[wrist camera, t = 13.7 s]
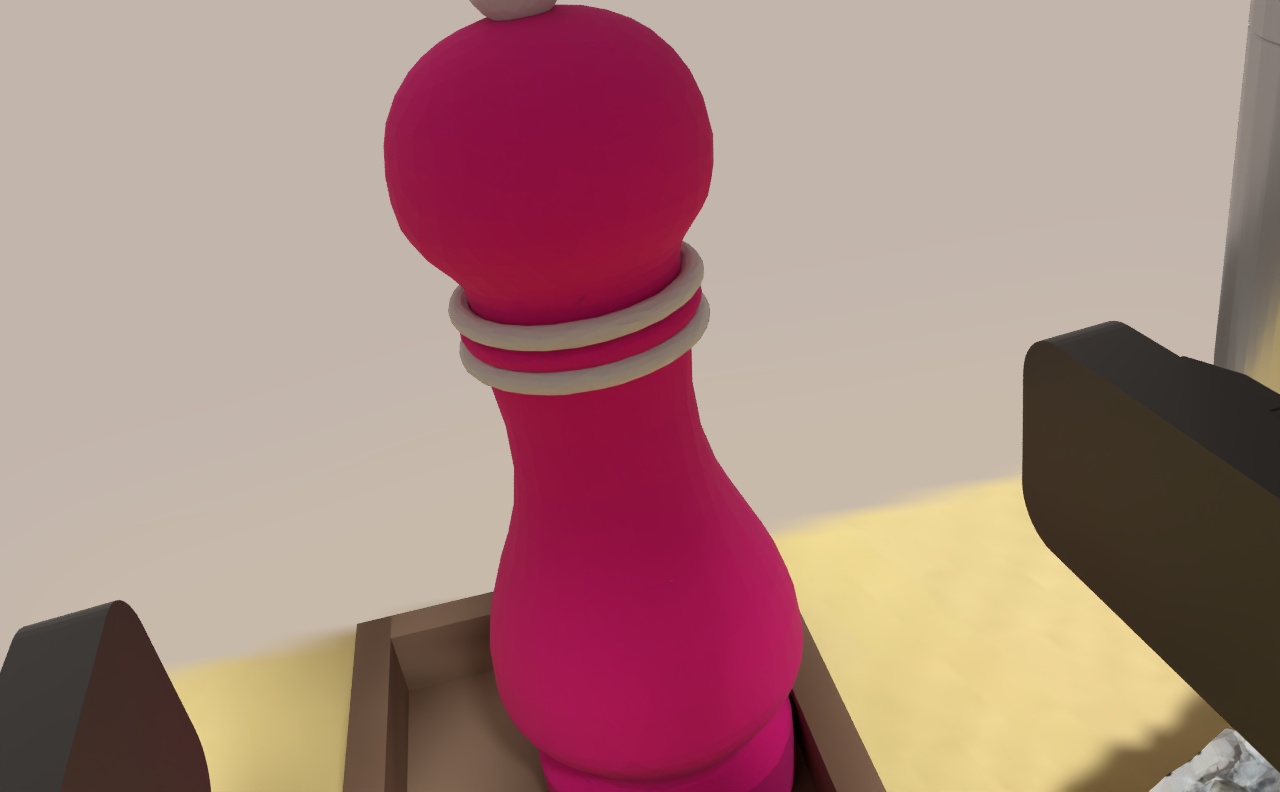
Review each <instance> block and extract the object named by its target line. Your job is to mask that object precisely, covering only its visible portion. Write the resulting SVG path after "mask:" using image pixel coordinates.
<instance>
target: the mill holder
mask: <svg viewBox="0 0 1280 792" xmlns="http://www.w3.org/2000/svg"><path fill="white" fill-rule="evenodd" d="M493 593H494V592H490V593H486V594H482V595H478V596H473V597H469V598H465V599H461V600H456V601H452V602H448V603H444V604H440V605H435V606H431V607H427V608H423V609H419V610H414V611H410V612H406V613H402V614H397V615H393V616H389V617H385V618H381V619H376V620H372V621H368V622H364V623H359V624H357V632H356V643H355V655H354V667H353V678H352V690H351V702H350V714H349V725H348V737H347V749H346V760H345V772H344V784H343V792H549V789H548V786H547V782H546V779H545V775H544V772H543V768H542V765H541V761H540V755H539V749H538V748H536V747H535V746H534V745H533V744H532V743H531V742H530V741H529V740H528V739H527V738H526V737H525V736H524V735H523V734H522V733H521V732H520V731H519V730H518V728H517V727H516V725H515V724H514V723H513V721H512V720H511V718H510V717H509V715H508V713H507V711H506V709H505V707H504V705H503V703H502V701H501V698H500V695H499V691H498V688H497V684H496V679H495V673H494V667H493V661H492V655H491V649H490V617H491V603H492V598H493ZM800 616H801V620H802V625H803V650H802V660H801V664H800V667H799V670H798V673H797V676H796V680H795V683H794V685H793V687H792V689H791V691H790V693H789V695H788V696H789V700H790V704H791V709H792V717H793V725H794V734H795V742H796V750H797V771H796V775H795V779H794V784H793V788H792V790H791V792H886V790H885V788H884V786H883V784H882V782H881V780H880V778H879V776H878V773H877V771H876V769H875V767H874V765H873V763H872V761H871V759H870V757H869V755H868V753H867V751H866V749H865V746H864V744H863V742H862V740H861V738H860V736H859V734H858V732H857V730H856V728H855V726H854V724H853V721H852V719H851V717H850V715H849V713H848V711H847V709H846V707H845V705H844V703H843V701H842V699H841V696H840V694H839V692H838V690H837V688H836V686H835V684H834V682H833V680H832V678H831V676H830V674H829V671H828V669H827V667H826V665H825V663H824V661H823V659H822V657H821V655H820V653H819V651H818V649H817V646H816V644H815V642H814V640H813V638H812V636H811V634H810V632H809V630H808V628H807V626H806V624H805V621H804V619H803V617H802V615H801V613H800Z"/></svg>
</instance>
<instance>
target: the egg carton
mask: <svg viewBox="0 0 1280 792" xmlns="http://www.w3.org/2000/svg"><path fill="white" fill-rule="evenodd" d="M1149 792H1280V773H1279V772H1278V771H1277V770H1276V769H1275V768H1274V767H1273V766H1272V765H1271V764H1270V763H1269V762H1268V761H1267V760H1266V759H1265V758H1264V757H1263V756H1262V755H1261V754H1260V753H1258V752H1257V751H1256V750H1255V749H1254V748H1253V747H1252V746H1251V745H1250V744H1249V743H1248V742H1247V741H1246V740H1245V739H1244V738H1243V737H1242V736H1241V735H1240V734H1239V733H1238V732H1237V731H1235V730H1232V729H1227V728H1225V729H1224V730H1223V731H1222V732H1221V733H1220V734H1218V735H1217V736H1216V737H1215V738H1214V739H1213V740H1212V741H1211V742H1210V743H1209V744H1208V745H1207V746H1206V747H1205V748H1204V749H1203V750H1202V751H1201V752H1199V753H1198V754H1197V755H1196V756H1195V757H1194V758H1192V759H1191V760H1190V761H1189V762H1187V763H1185V764H1184V765H1182V766H1181V767H1179V768H1177V769H1176V770H1174V771H1173V772H1171V773H1169V774H1168V775H1166V776H1165V777H1164V778H1163V779H1162V780H1161V781H1160V782H1159V783H1158V784H1157V785H1155V786H1154V787H1153V788H1152V789H1151V790H1150V791H1149Z"/></svg>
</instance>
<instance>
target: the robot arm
mask: <svg viewBox="0 0 1280 792" xmlns="http://www.w3.org/2000/svg"><path fill="white" fill-rule="evenodd" d="M1249 24H1250V25H1249V26H1248V35H1247V45H1246V54H1245V64H1244V73H1243V83H1242V93H1241V102H1240V112H1239V122H1238V131H1237V142H1236V150H1235V160H1234V170H1233V180H1232V190H1231V199H1230V209H1229V219H1228V228H1227V238H1226V247H1225V256H1224V266H1223V276H1222V285H1221V295H1220V305H1219V314H1218V324H1217V334H1216V343H1215V353H1214V365H1212V364H1208V363H1205V362H1202V361H1198V360H1195V359H1192V358H1188V357H1185V356H1182V357H1179V356H1178V355H1176V354H1174V353H1173V352H1171V351H1170V350H1168V349H1166V348H1164V347H1163V346H1161V345H1159V344H1158V343H1156V342H1154V341H1153V340H1151V339H1150V338H1148V337H1146V336H1144V335H1143V334H1141V333H1140V332H1138V331H1136V330H1135V329H1133V328H1131V327H1130V326H1128V325H1126V324H1124V323H1122V322H1118V321H1109V322H1105V323H1102V324H1098V325H1095V326H1091V327H1088V328H1084V329H1081V330H1077V331H1073V332H1070V333H1067V334H1063V335H1059V336H1056V337H1052V338H1049V339H1045V340H1042V341H1039V342H1036V343H1034V344H1033V345H1032V346H1031V347H1030V349H1029V350H1028V352H1027V354H1026V357H1025V362H1024V371H1023V460H1022V485H1023V494H1024V500H1025V504H1026V507H1027V510H1028V514H1029V516H1030V519H1031V521H1032V523H1033V525H1034V527H1035V529H1036V531H1037V533H1038V534H1039V536H1040V538H1041V539H1042V541H1043V542H1044V543H1045V545H1046V546H1047V547H1048V548H1049V549H1050V550H1051V551H1052V552H1053V553H1054V554H1055V555H1056V556H1057V557H1058V558H1059V559H1060V560H1061V561H1062V562H1063V563H1064V564H1065V565H1066V566H1067V567H1068V568H1069V569H1070V570H1071V571H1072V572H1073V573H1074V574H1075V575H1076V576H1077V577H1078V578H1079V579H1080V580H1082V581H1083V582H1084V583H1085V584H1086V585H1087V586H1088V587H1089V588H1090V589H1091V590H1092V591H1093V592H1094V593H1095V594H1096V595H1097V596H1098V597H1099V598H1100V599H1101V600H1102V601H1103V602H1104V603H1105V604H1106V605H1107V606H1108V607H1109V608H1110V609H1111V610H1112V611H1113V612H1114V613H1115V614H1116V615H1118V616H1119V617H1120V618H1121V619H1122V620H1123V621H1124V622H1125V623H1126V624H1127V625H1128V626H1129V627H1130V628H1131V629H1132V630H1133V631H1134V632H1135V633H1136V634H1137V635H1138V636H1139V637H1140V638H1141V639H1142V640H1143V641H1144V642H1145V643H1146V644H1147V645H1148V646H1149V647H1150V648H1151V649H1153V650H1154V651H1155V652H1156V653H1157V654H1158V655H1159V656H1160V657H1161V658H1162V659H1163V660H1164V661H1165V662H1166V663H1167V664H1168V665H1169V666H1170V667H1171V668H1172V669H1173V670H1174V671H1175V672H1176V673H1177V674H1178V675H1179V676H1180V677H1181V678H1182V679H1183V680H1184V681H1185V682H1186V683H1187V684H1189V685H1190V686H1191V687H1192V688H1193V689H1194V690H1195V691H1196V692H1197V693H1198V694H1199V695H1200V696H1201V697H1202V698H1203V699H1204V700H1205V701H1206V702H1207V703H1208V704H1209V705H1210V706H1211V707H1212V708H1213V709H1214V710H1215V711H1216V712H1217V713H1218V714H1219V715H1220V716H1221V717H1222V718H1223V719H1225V720H1226V721H1227V722H1228V723H1229V724H1230V725H1231V726H1232V727H1233V728H1234V729H1235V730H1236V731H1237V732H1238V733H1239V734H1240V735H1241V736H1242V737H1243V738H1244V739H1245V740H1246V741H1247V742H1248V743H1249V744H1250V745H1251V746H1252V747H1253V748H1254V749H1255V750H1256V751H1257V752H1258V753H1260V754H1261V755H1262V756H1263V757H1264V758H1265V759H1266V760H1267V761H1268V762H1269V763H1270V764H1271V765H1272V766H1273V767H1274V768H1275V769H1276V770H1277V771H1278V772H1279V773H1280V0H1251V4H1250V14H1249ZM0 792H211V787H210V779H209V773H208V767H207V763H206V759H205V755H204V751H203V748H202V745H201V742H200V740H199V737H198V735H197V733H196V730H195V728H194V726H193V724H192V722H191V720H190V718H189V716H188V714H187V712H186V710H185V708H184V706H183V704H182V702H181V700H180V698H179V696H178V694H177V692H176V691H175V689H174V687H173V685H172V683H171V681H170V679H169V677H168V675H167V673H166V671H165V669H164V667H163V665H162V663H161V661H160V659H159V657H158V655H157V653H156V651H155V649H154V647H153V645H152V643H151V641H150V639H149V637H148V635H147V633H146V631H145V629H144V627H143V625H142V623H141V621H140V619H139V618H138V616H137V614H136V613H135V612H134V610H133V609H132V608H131V607H130V606H129V605H128V604H127V603H125V602H124V601H121V600H117V601H113V602H109V603H106V604H103V605H99V606H95V607H92V608H88V609H85V610H81V611H78V612H75V613H71V614H67V615H64V616H60V617H57V618H53V619H50V620H46V621H42V622H39V623H36V624H32V625H29V626H25V627H23V628H21V629H19V631H18V632H17V633H16V634H15V636H14V638H13V640H12V643H11V645H10V648H9V651H8V653H7V657H6V659H5V661H4V664H3V667H2V669H1V672H0Z"/></svg>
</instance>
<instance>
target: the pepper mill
mask: <svg viewBox="0 0 1280 792" xmlns="http://www.w3.org/2000/svg"><path fill="white" fill-rule="evenodd" d="M556 1H557V0H470V2H471V3H472V4H473V5H474V6H475V7H476V8H477V9H478V10H479V11H480V12H481V13H482V14H483V15H485V16H486V18H484V19H482V20H479V21H477V22H475V23H473V24H471V25H469V26H466V27H464V28H462V29H460V30H458V31H456V32H454V33H453V34H452V35H450V36H448V37H446V38H445V39H443V40H442V41H440V42H439V43H438V44H436V45H435V46H434V47H433V48H431V49H430V50H429V51H428V52H427V53H426V54H425V55H423V56H422V57H421V58H420V59H419V61H418V62H417V63H416V64H415V65H414V66H413V68H412V69H411V70H410V71H409V72H408V74H407V76H406V78H405V79H404V81H403V83H402V85H401V86H400V88H399V90H398V91H397V93H396V95H395V96H394V99H393V103H392V106H391V109H390V112H389V115H388V118H387V121H386V127H385V137H384V160H385V177H386V182H387V187H388V191H389V196H390V201H391V205H392V208H393V210H394V213H395V215H396V218H397V221H398V223H399V226H400V229H401V230H402V232H403V233H404V235H405V236H406V237H407V239H408V240H409V241H410V243H411V244H412V245H413V246H414V247H415V248H416V249H417V250H418V251H419V252H420V253H421V254H422V256H423V257H424V258H425V259H426V260H427V261H428V262H430V263H431V264H432V265H434V266H435V267H437V268H438V269H439V270H441V271H442V272H444V273H445V274H447V275H448V276H450V277H451V278H452V279H454V280H455V281H456V282H457V283H458V284H459V286H458V287H457V288H456V289H455V290H454V292H453V294H452V296H451V298H450V303H449V309H448V311H449V316H450V319H451V322H452V324H453V325H454V326H455V327H456V329H457V330H458V331H459V332H460V335H461V342H460V357H461V360H462V363H463V365H464V367H465V368H466V370H467V372H468V373H470V374H471V375H473V376H474V377H475V378H477V379H478V380H479V381H481V382H482V383H484V384H486V385H488V386H491V387H492V389H493V392H494V395H495V398H496V401H497V403H498V406H499V409H500V412H501V414H502V417H503V420H504V422H505V425H506V429H507V434H508V439H509V444H510V449H511V454H512V459H513V464H514V506H513V511H512V516H511V521H510V526H509V532H508V535H507V539H506V542H505V545H504V549H503V552H502V555H501V559H500V564H499V569H498V574H497V578H496V583H495V588H494V593H493V598H492V603H491V617H490V649H491V655H492V661H493V667H494V673H495V679H496V684H497V688H498V691H499V695H500V698H501V701H502V703H503V705H504V707H505V709H506V711H507V713H508V715H509V717H510V718H511V720H512V721H513V723H514V724H515V725H516V727H517V728H518V730H519V731H520V732H521V733H522V734H523V735H524V736H525V737H526V738H527V739H528V740H529V741H530V742H531V743H532V744H533V745H534V746H535V747H536V748H538V749H539V755H540V761H541V765H542V768H543V772H544V775H545V779H546V782H547V786H548V789H549V792H791V790H792V788H793V784H794V779H795V775H796V771H797V750H796V742H795V734H794V725H793V717H792V709H791V704H790V700H789V696H788V695H789V693H790V691H791V689H792V687H793V685H794V683H795V680H796V676H797V673H798V670H799V667H800V664H801V660H802V650H803V625H802V620H801V616H800V611H799V607H798V603H797V598H796V594H795V590H794V585H793V582H792V580H791V577H790V575H789V572H788V570H787V567H786V565H785V563H784V561H783V559H782V557H781V555H780V553H779V551H778V549H777V547H776V545H775V543H774V541H773V539H772V538H771V536H770V534H769V533H768V531H767V530H766V528H765V527H764V525H763V524H762V522H761V521H760V520H759V518H758V517H757V515H756V514H755V513H754V512H753V510H752V509H751V507H750V506H749V505H748V503H747V502H746V501H745V499H744V498H743V497H742V495H741V494H740V493H739V491H738V490H737V489H736V487H735V486H734V485H733V483H732V482H731V480H730V479H729V478H728V476H727V475H726V473H725V472H724V470H723V469H722V467H721V466H720V464H719V463H718V462H717V460H716V458H715V456H714V454H713V451H712V449H711V447H710V445H709V442H708V440H707V438H706V435H705V433H704V431H703V428H702V426H701V423H700V419H699V413H698V408H697V403H696V399H695V393H694V388H693V382H692V358H691V357H692V354H691V348H692V347H693V346H694V344H695V343H696V342H697V341H698V340H699V339H700V338H701V336H702V335H703V333H704V331H705V330H706V328H707V325H708V322H709V316H710V309H709V304H708V301H707V299H706V297H705V296H704V294H703V293H702V290H701V286H700V285H701V282H702V279H703V273H704V266H703V261H702V259H701V257H700V256H699V254H698V253H697V251H696V250H695V249H694V248H693V247H691V246H690V245H689V244H687V243H686V242H684V241H682V240H683V238H684V236H685V234H686V232H687V231H688V229H689V227H690V226H691V224H692V223H693V221H694V220H695V218H696V216H697V215H698V213H699V211H700V210H701V208H702V207H703V204H704V202H705V200H706V198H707V196H708V192H709V187H710V182H711V177H712V169H713V133H712V129H711V126H710V122H709V118H708V114H707V110H706V107H705V102H704V99H703V96H702V94H701V92H700V90H699V88H698V86H697V83H696V81H695V79H694V77H693V75H692V74H691V71H690V69H689V68H688V67H687V66H686V64H685V63H684V62H683V61H682V59H681V58H680V57H679V55H678V54H677V53H676V52H675V50H674V49H673V48H672V47H671V46H670V45H669V44H667V43H666V42H665V41H664V40H663V39H661V37H659V36H658V35H657V34H656V33H655V32H654V31H652V30H651V29H650V28H648V27H646V26H644V25H642V24H641V23H639V22H637V21H635V20H634V19H632V18H629V17H626V16H623V15H621V14H618V13H615V12H612V11H609V10H605V9H599V8H595V7H589V6H584V5H555V3H556Z"/></svg>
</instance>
